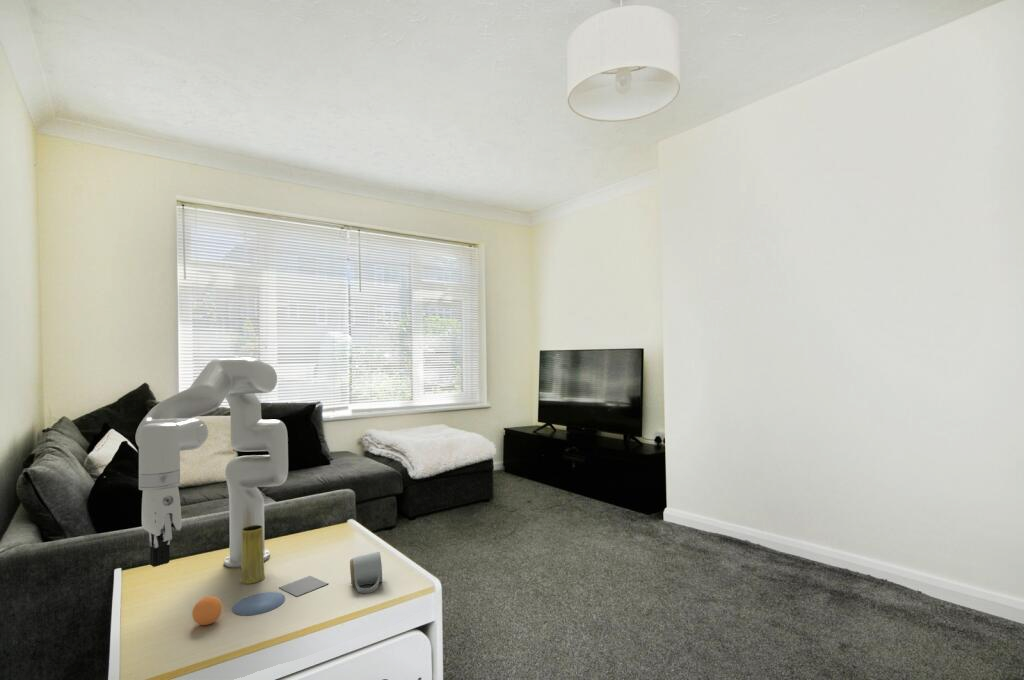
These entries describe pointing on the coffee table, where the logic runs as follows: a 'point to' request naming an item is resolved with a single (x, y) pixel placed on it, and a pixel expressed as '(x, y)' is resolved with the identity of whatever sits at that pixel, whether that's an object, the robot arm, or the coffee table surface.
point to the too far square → (303, 586)
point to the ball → (207, 610)
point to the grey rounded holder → (366, 571)
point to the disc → (258, 603)
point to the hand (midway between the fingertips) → (159, 564)
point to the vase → (252, 555)
